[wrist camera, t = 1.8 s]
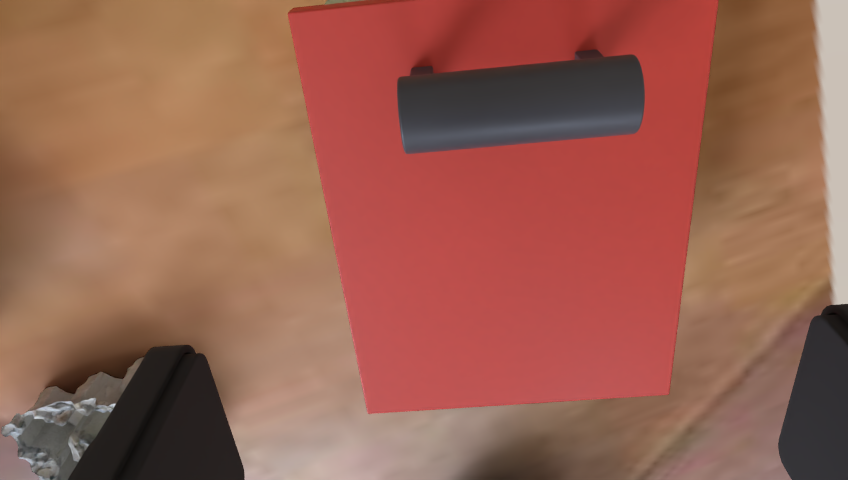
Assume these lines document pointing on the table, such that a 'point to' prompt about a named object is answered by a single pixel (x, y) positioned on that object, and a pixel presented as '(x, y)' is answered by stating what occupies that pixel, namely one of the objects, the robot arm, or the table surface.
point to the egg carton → (65, 424)
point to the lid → (508, 190)
